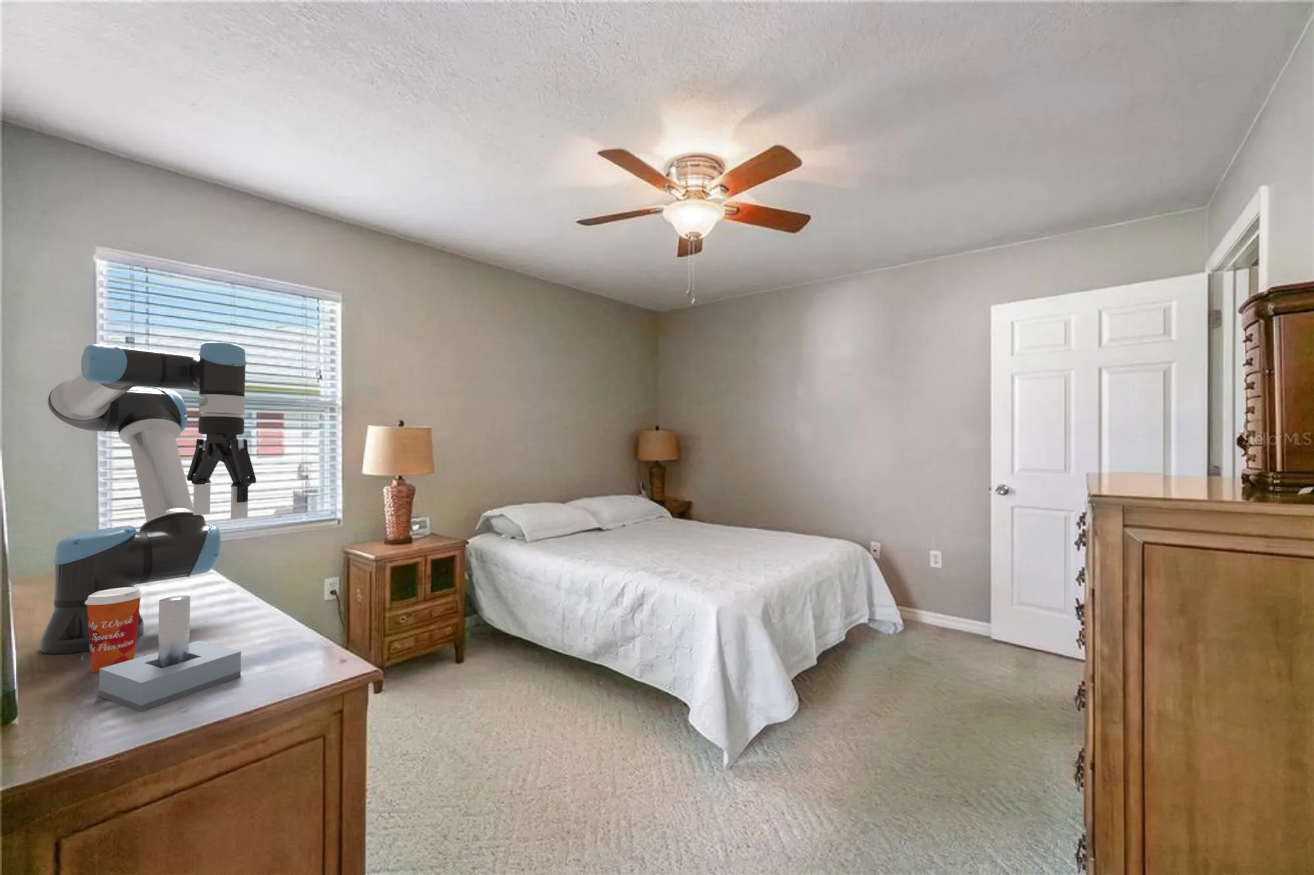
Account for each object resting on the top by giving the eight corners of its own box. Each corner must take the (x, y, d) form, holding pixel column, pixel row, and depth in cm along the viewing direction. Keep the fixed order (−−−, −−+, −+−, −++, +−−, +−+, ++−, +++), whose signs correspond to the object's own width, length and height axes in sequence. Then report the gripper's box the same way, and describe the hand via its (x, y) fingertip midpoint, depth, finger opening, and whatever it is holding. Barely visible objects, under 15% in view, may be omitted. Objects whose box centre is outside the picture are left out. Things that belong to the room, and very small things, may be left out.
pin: (152, 682, 91) (154, 600, 91) (180, 673, 95) (182, 594, 95) (164, 686, 89) (166, 603, 90) (193, 677, 93) (195, 597, 93)
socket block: (98, 695, 88) (99, 668, 88) (199, 664, 101) (199, 640, 101) (140, 711, 83) (141, 682, 83) (240, 676, 96) (241, 651, 96)
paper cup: (74, 678, 95) (76, 599, 95) (94, 662, 102) (96, 589, 102) (133, 670, 98) (134, 594, 99) (149, 655, 105) (150, 584, 105)
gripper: (167, 416, 114) (165, 514, 114) (237, 414, 104) (235, 522, 104) (208, 417, 121) (206, 510, 121) (277, 416, 111) (275, 517, 111)
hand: (219, 516), depth 112 cm, fingers open, 13 cm apart
